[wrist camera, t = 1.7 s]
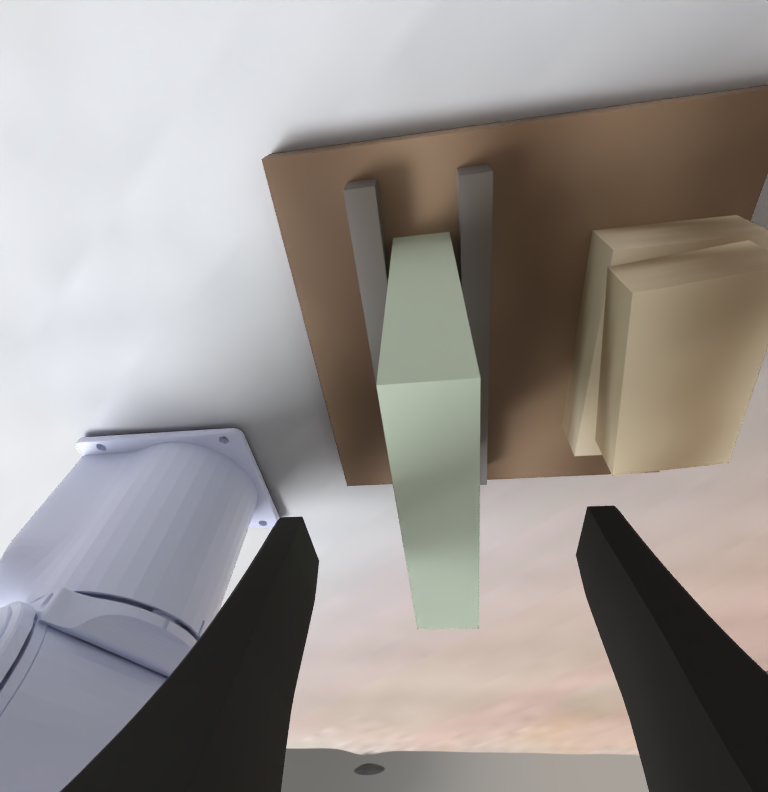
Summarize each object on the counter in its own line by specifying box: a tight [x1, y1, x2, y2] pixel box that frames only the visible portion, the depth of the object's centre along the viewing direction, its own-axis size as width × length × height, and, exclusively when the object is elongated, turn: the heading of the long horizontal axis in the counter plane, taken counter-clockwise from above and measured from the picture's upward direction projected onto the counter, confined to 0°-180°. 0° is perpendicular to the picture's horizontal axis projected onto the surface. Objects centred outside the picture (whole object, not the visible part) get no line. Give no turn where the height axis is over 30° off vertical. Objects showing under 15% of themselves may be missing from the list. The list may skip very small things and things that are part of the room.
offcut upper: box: [595, 240, 768, 476], centre depth 15 cm, size 4×8×2 cm, turn 13°
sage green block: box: [376, 232, 481, 629], centre depth 15 cm, size 2×10×9 cm, turn 7°
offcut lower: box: [562, 215, 768, 456], centre depth 17 cm, size 5×9×2 cm, turn 7°
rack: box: [262, 85, 768, 488], centre depth 18 cm, size 16×16×2 cm
